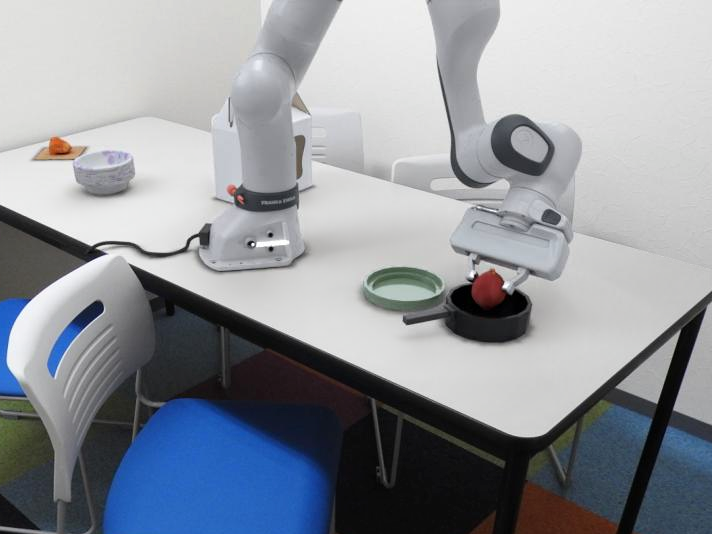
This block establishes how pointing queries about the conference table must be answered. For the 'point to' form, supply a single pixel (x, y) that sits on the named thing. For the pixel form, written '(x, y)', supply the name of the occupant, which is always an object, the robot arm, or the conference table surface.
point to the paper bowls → (104, 171)
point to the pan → (480, 316)
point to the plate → (404, 287)
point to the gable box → (230, 151)
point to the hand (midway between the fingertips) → (487, 286)
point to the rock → (59, 150)
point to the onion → (488, 289)
